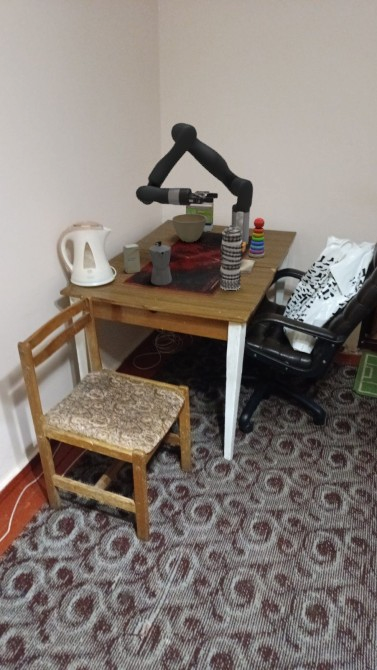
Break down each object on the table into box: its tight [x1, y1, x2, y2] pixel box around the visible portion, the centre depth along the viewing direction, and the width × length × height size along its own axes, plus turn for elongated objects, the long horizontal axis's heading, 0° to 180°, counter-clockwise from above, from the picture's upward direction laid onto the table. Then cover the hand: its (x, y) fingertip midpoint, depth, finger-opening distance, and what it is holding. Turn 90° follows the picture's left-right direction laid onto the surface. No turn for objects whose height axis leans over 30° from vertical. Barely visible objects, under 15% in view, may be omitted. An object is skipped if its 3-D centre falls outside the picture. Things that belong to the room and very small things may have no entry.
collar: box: [241, 242, 247, 253], centre depth 208 cm, size 6×6×3 cm
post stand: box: [219, 212, 256, 275], centre depth 206 cm, size 14×14×26 cm
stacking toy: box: [248, 217, 266, 259], centre depth 222 cm, size 8×8×19 cm
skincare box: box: [122, 243, 141, 274], centre depth 207 cm, size 6×4×12 cm
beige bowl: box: [171, 213, 206, 243], centre depth 247 cm, size 18×18×12 cm
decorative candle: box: [219, 226, 244, 291], centre depth 186 cm, size 9×9×25 cm
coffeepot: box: [148, 240, 173, 286], centre depth 195 cm, size 15×9×18 cm, turn 13°
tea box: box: [185, 202, 214, 233], centre depth 265 cm, size 15×10×15 cm, turn 80°
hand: (215, 197), depth 200 cm, fingers open, 8 cm apart
